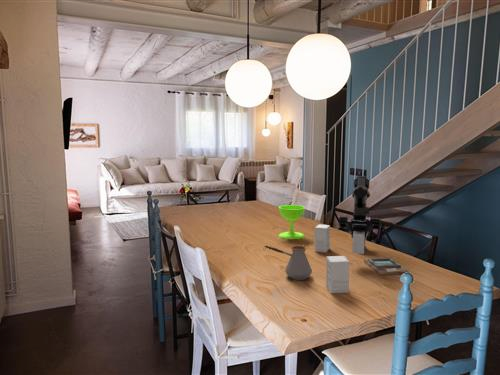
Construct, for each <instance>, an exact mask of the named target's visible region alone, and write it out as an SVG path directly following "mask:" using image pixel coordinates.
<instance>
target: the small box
mask: <svg viewBox="0 0 500 375" xmlns="http://www.w3.org/2000/svg"><path fill="white" fill-rule="evenodd" d="M330 228H331V225H329V224H321V223H319V224H317V225H316V226H315V227H314V252H318V253H327V252H328V251H329V250H330V247H331V244H330V243H331V242H330V239H331V238H330V237H331V236H330V234H331V232H330V231H331V229H330Z"/></svg>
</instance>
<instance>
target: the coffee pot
mask: <svg viewBox="0 0 500 375" xmlns="http://www.w3.org/2000/svg"><path fill="white" fill-rule="evenodd" d="M266 249H269V250H271V251H274V252H277V253H281V254H284V255H286V256H287V255H288V256H290V257H289V260H288V262H287V264H286V267H285V269H284V271H285V273H286V275H287V276H288V277H289V278H290V279H292V280H297V281H302V280H303V281H304V280H306V279H308V278H309V277H310V276H311V275H312V272H313V270H312V267H311V264H310V263H309V259H308V257H307V255H306V253H305V252H306V250H307V247H306V246H303V245H293V246H291V248H290V249H291V251H292V252H291V253H290V252H288V251H284V250H281V249H279V248H276V247H272V246H268V245H264V246H263V251H265V250H266Z"/></svg>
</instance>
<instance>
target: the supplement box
mask: <svg viewBox="0 0 500 375" xmlns="http://www.w3.org/2000/svg"><path fill="white" fill-rule="evenodd" d="M325 266H326V267H325V268H326V269H325V270H326V274H325V276H326V277H325V278H326V279H325V286H326V288H327V289H328V291H329V293H330V294H343V293H344V294H345V293H346V294H347V293H350V261H349V260H348V259H347V257H346V256H345V255H335V256H334V255H332V256H330V255H329V256H326V265H325Z"/></svg>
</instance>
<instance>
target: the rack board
mask: <svg viewBox="0 0 500 375" xmlns="http://www.w3.org/2000/svg"><path fill="white" fill-rule="evenodd" d="M363 263H365V264H366V265H367V266H368V267H369V268H371V269H372V270H373V271H374V272H376V273H377V274H378V275H379V276H382V275H383V276H384V275H385V276H387V275H389V276H390V275H404V274H403V273H405V272H408V274H409V271H408V269H406V268H404V267H402V265H401V264H400V263H398V262H397V261H395V260H394V259H392V258H391V257H382V258H381V257H379V258H376V257H375V258H374V257H373V258H367V259H364V260H363Z"/></svg>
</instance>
